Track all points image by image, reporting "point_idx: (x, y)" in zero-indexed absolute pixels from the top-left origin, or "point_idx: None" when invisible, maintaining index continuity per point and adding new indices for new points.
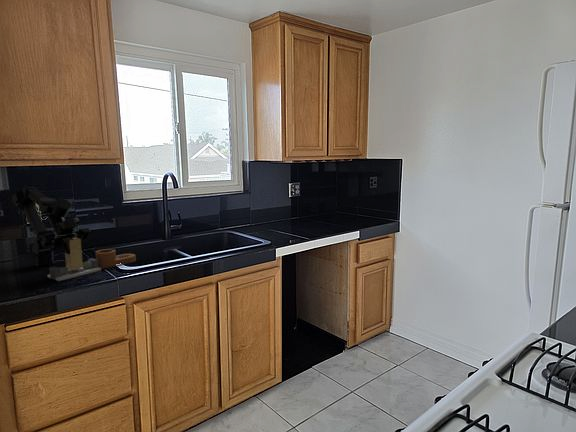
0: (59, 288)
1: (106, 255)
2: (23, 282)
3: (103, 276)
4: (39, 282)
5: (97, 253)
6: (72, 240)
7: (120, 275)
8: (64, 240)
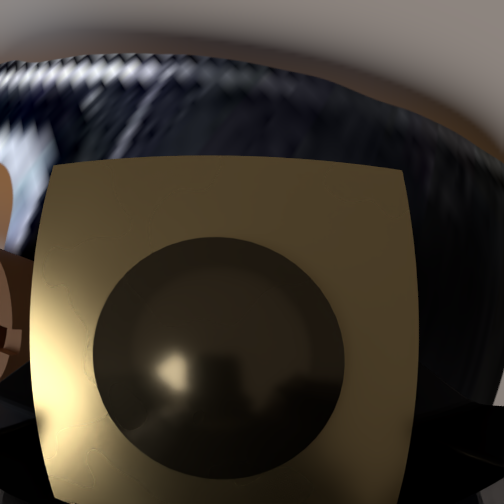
0: (399, 145)
1: (3, 252)
2: (460, 379)
3: (174, 130)
4: (430, 318)
5: (13, 314)
6: (314, 167)
7: (128, 92)
8: (384, 474)
